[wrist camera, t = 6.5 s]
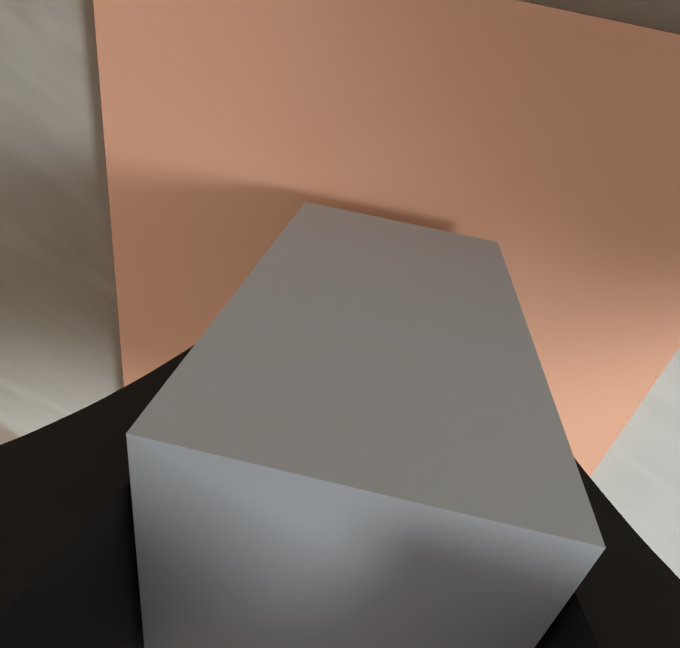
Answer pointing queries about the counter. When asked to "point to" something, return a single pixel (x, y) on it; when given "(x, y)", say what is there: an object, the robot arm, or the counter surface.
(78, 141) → the counter surface
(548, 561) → the slate block
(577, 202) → the terracotta tile
